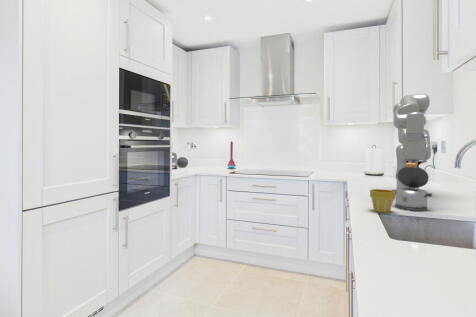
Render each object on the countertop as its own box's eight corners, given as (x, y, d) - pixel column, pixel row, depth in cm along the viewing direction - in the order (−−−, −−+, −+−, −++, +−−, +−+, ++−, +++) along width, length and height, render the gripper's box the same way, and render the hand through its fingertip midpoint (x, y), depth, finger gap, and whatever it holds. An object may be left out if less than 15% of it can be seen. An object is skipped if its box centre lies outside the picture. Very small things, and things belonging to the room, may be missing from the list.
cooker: (394, 203, 143) (395, 186, 142) (433, 208, 132) (433, 189, 131) (388, 207, 132) (388, 189, 132) (429, 213, 121) (430, 193, 121)
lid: (398, 187, 140) (399, 185, 141) (429, 189, 132) (429, 188, 132) (395, 163, 133) (396, 162, 134) (427, 164, 125) (427, 163, 125)
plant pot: (388, 208, 130) (388, 188, 130) (399, 214, 120) (399, 192, 120) (366, 208, 131) (366, 188, 131) (374, 213, 121) (375, 192, 121)
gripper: (433, 137, 131) (432, 174, 132) (398, 138, 141) (397, 172, 142) (431, 136, 125) (430, 175, 126) (395, 137, 135) (394, 173, 136)
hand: (413, 174), depth 134 cm, fingers closed
